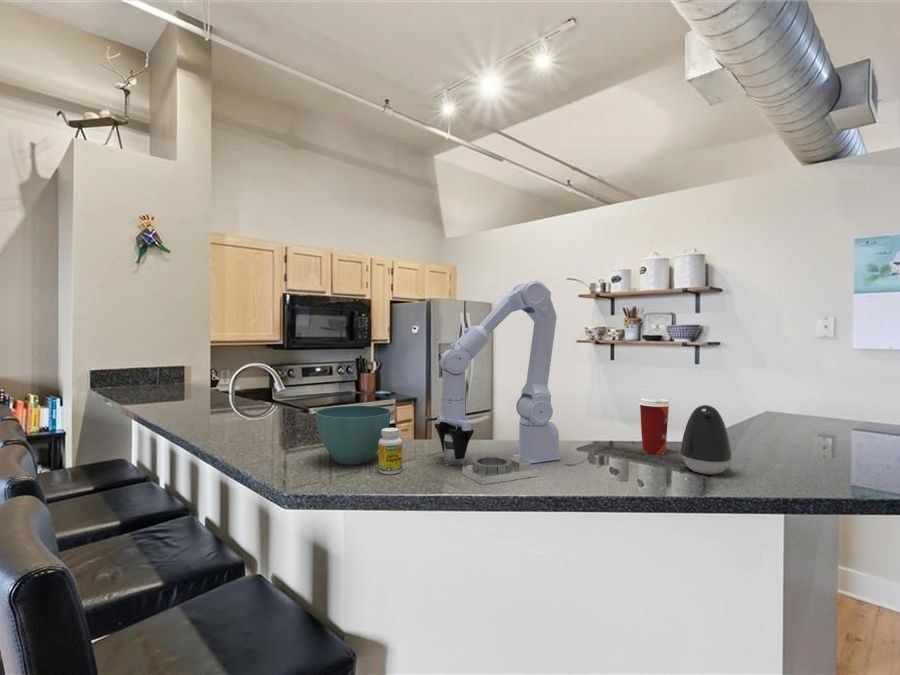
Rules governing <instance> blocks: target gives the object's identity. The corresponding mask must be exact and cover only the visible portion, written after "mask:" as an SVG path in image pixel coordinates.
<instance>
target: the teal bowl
mask: <svg viewBox="0 0 900 675" xmlns="http://www.w3.org/2000/svg"><path fill="white" fill-rule="evenodd" d="M391 416H392V409H390V408H387V407H383V406H377V405H374V406H373V405H339V406H331V407H330V406H329V407H324V408H320V409H317V410H315V422H316V427H317V431H318V434H319V437H320V440H321V443H322V444H323V446H324V448H325V450H326V451H327V452H328V453H329V455H330V456H331V458H332V459H333V460H334V461H335V462H337V463H338V464H342V465H360V464H361V465H362V464H366V463H368V462H370V461H371V460H372V459H373V458H374V456H375V455H376V454H377V452H379V440H380V439H381V438H383V436H382V435H381V430H382V429H384V428H390V427H389V426H390V423H391ZM365 462H366V463H365Z"/></svg>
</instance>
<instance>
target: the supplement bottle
mask: <svg viewBox="0 0 900 675" xmlns="http://www.w3.org/2000/svg"><path fill="white" fill-rule="evenodd" d="M381 435H382V436H383V438H381V439H380V440H379V450H378V472H379V473H380V474H382V473H383V474H382V475H396V474H399V473H401V472H402V471H403V440H402V439H401V437H399V435H400V429H399V428H397V427H388V428H384V429H382V430H381Z"/></svg>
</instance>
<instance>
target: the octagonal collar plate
mask: <svg viewBox="0 0 900 675" xmlns="http://www.w3.org/2000/svg"><path fill="white" fill-rule="evenodd" d="M461 469H462V470H461V471H462V473H463V475H464V476H466V477H468V478H469V479H472V480H473V481H475V482H477V483H478V484H480V485H482V486H483V485H489V484H496V483H503V482H509V481H514V480H515V479H517V480H522V478H523V479H529V478H528V477H530V478H535V477H538V470H539V469H538V468H537V467H534V466H532V465H531V463H530V461H528V460H525V459H523V458H520V457H518V456H517V457H513V456H512V457H507V458H506V457H502V456H480V457H476V458H474V459H472V464H469V465H463V466H462V468H461ZM515 481H516V480H515Z"/></svg>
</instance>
